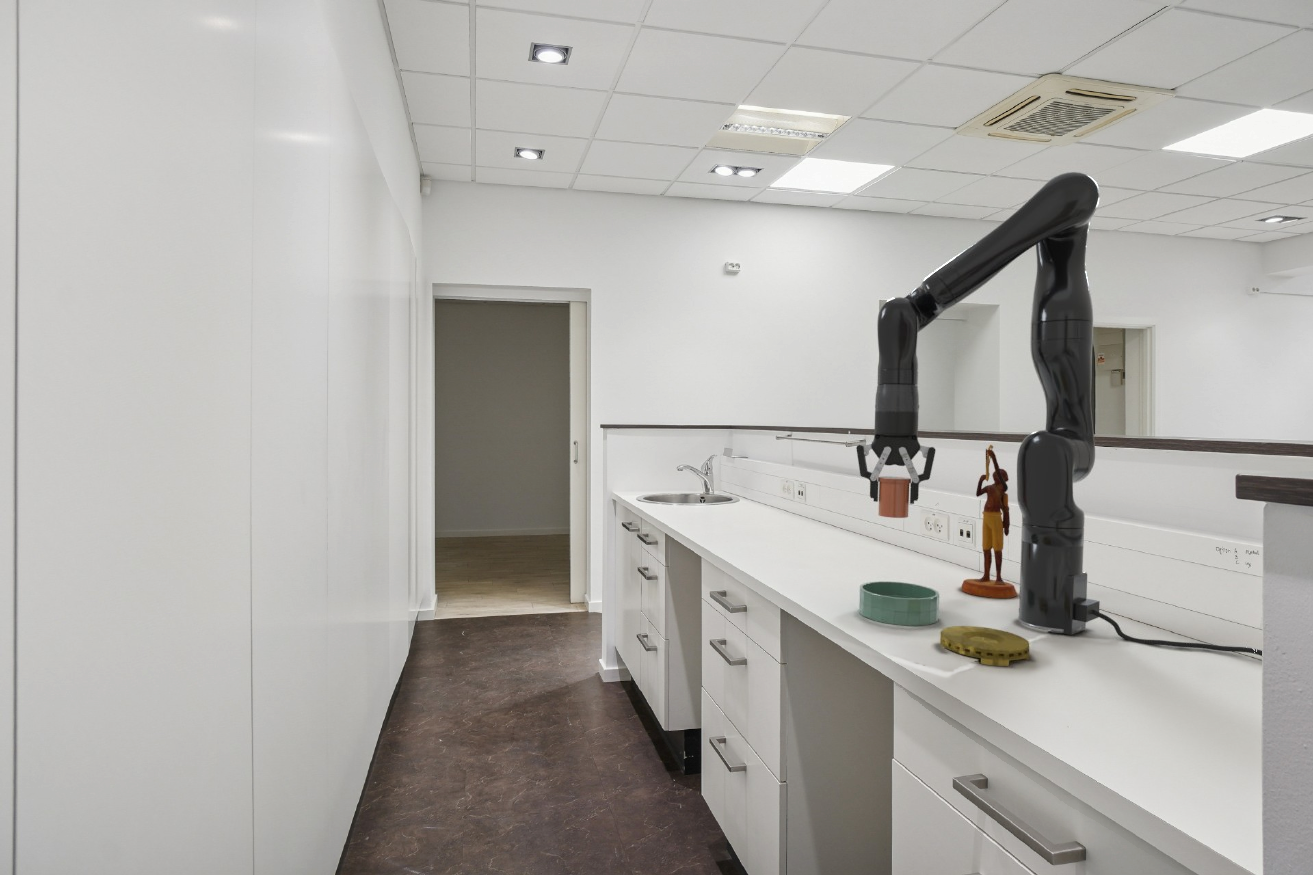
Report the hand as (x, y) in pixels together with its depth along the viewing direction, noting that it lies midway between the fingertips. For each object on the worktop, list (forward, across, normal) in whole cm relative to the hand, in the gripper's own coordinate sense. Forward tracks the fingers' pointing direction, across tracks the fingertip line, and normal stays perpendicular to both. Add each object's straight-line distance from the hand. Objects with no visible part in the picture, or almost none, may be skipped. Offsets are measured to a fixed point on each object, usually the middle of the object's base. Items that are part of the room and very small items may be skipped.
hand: (893, 501), depth 131 cm
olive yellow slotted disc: (+20, +14, -21) cm, 32 cm away
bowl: (+20, +1, -7) cm, 21 cm away
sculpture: (+20, +18, +22) cm, 34 cm away
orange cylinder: (+3, 0, 0) cm, 3 cm away
